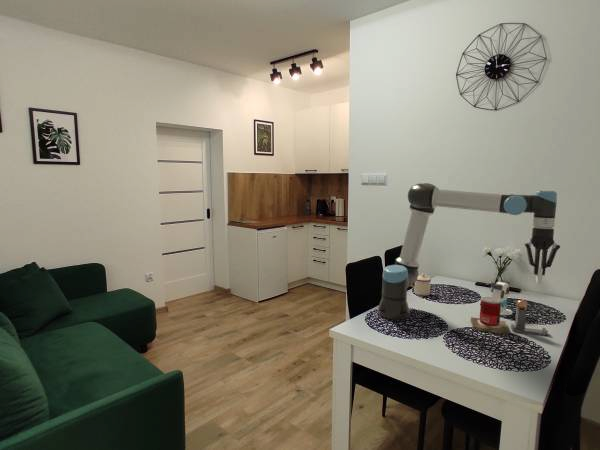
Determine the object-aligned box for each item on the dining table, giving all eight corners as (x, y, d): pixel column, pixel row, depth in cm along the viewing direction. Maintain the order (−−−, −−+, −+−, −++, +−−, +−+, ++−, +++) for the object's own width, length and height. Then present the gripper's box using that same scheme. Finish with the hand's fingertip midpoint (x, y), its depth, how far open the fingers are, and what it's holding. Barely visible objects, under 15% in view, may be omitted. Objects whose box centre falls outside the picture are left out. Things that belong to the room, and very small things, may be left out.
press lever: (515, 329, 160) (517, 300, 159) (513, 325, 164) (515, 298, 163) (526, 330, 159) (528, 301, 157) (523, 327, 163) (526, 299, 161)
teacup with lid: (432, 293, 215) (433, 273, 214) (426, 296, 209) (427, 276, 207) (413, 289, 223) (414, 270, 222) (406, 292, 217) (407, 273, 215)
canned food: (501, 327, 161) (503, 302, 160) (482, 325, 163) (483, 301, 161) (496, 320, 168) (498, 297, 167) (477, 319, 170) (479, 296, 169)
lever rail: (512, 331, 161) (513, 327, 161) (510, 328, 164) (511, 324, 164) (547, 336, 156) (547, 331, 156) (544, 332, 160) (545, 328, 160)
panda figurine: (507, 317, 178) (509, 287, 176) (483, 311, 186) (485, 282, 185) (515, 311, 186) (518, 282, 184) (492, 305, 195) (494, 278, 193)
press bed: (473, 329, 162) (473, 325, 162) (470, 320, 174) (471, 316, 173) (509, 334, 158) (509, 330, 157) (504, 324, 169) (504, 320, 169)
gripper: (527, 227, 153) (523, 283, 156) (564, 229, 149) (559, 286, 152) (523, 225, 160) (519, 278, 163) (558, 227, 156) (553, 281, 159)
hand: (538, 282), depth 157 cm, fingers closed
